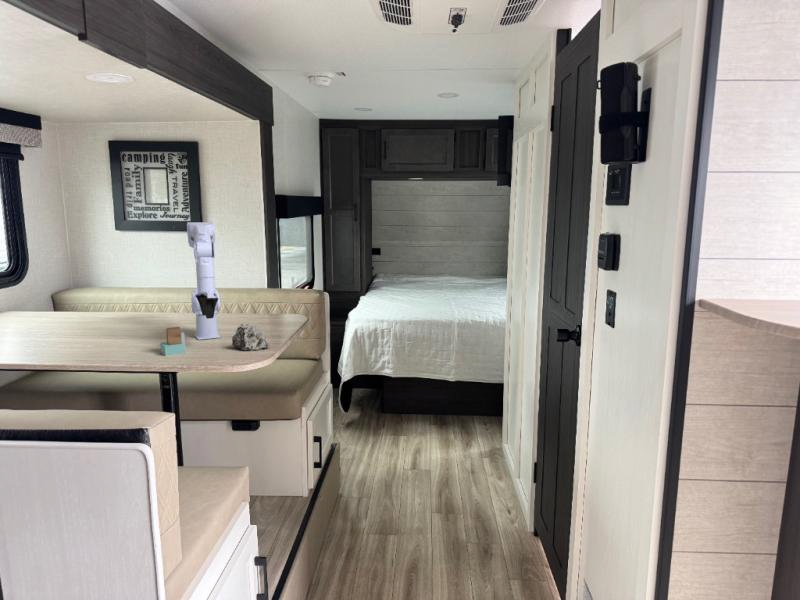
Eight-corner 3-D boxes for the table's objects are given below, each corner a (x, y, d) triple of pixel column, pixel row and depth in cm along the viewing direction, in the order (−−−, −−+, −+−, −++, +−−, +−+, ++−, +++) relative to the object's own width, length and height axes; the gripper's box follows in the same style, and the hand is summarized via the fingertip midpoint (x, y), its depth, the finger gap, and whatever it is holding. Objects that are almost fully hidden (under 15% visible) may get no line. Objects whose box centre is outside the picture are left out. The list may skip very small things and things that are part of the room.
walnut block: (167, 342, 175) (166, 327, 174) (180, 341, 177) (179, 326, 176) (168, 345, 172) (167, 330, 171) (181, 343, 174) (180, 328, 173)
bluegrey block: (168, 347, 182) (167, 332, 181) (179, 344, 185) (178, 331, 184) (174, 349, 180) (173, 334, 179) (185, 346, 183) (184, 332, 182)
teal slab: (161, 353, 175) (160, 342, 175) (180, 350, 179) (179, 340, 178) (165, 357, 171) (164, 346, 170) (185, 354, 174) (184, 343, 174)
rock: (234, 359, 173) (252, 335, 172) (222, 340, 179) (239, 318, 178) (263, 366, 184) (280, 344, 183) (250, 348, 190) (267, 327, 188)
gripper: (189, 276, 184) (191, 314, 186) (196, 279, 172) (199, 320, 174) (210, 275, 188) (212, 312, 190) (219, 278, 175) (221, 318, 177)
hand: (207, 316), depth 182 cm, fingers open, 7 cm apart
